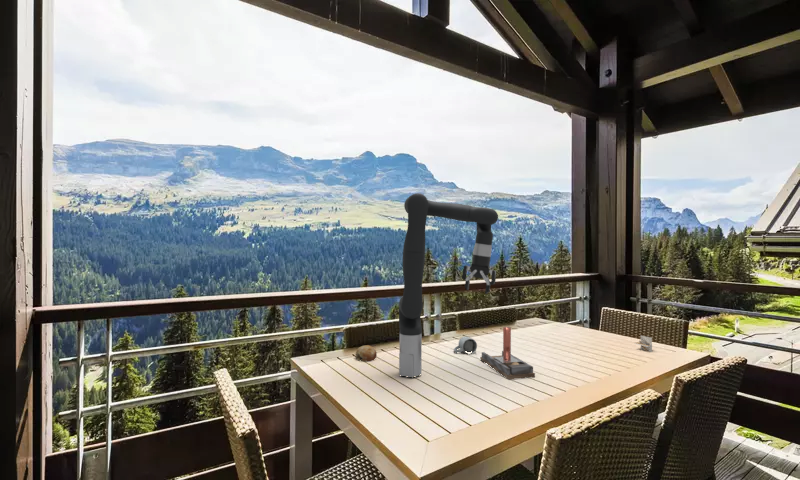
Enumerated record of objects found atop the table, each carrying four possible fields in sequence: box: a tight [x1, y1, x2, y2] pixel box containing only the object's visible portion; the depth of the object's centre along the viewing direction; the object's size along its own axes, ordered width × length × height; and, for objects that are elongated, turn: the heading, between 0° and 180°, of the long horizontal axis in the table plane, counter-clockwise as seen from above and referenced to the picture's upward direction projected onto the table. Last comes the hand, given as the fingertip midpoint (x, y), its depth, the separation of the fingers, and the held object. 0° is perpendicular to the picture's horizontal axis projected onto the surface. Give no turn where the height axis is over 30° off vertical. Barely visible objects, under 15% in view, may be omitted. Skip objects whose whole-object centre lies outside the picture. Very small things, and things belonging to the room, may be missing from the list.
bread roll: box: [355, 344, 378, 362], centre depth 185 cm, size 10×10×8 cm
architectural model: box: [634, 335, 653, 353], centre depth 199 cm, size 3×7×7 cm, turn 28°
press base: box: [480, 350, 536, 380], centre depth 171 cm, size 26×12×5 cm, turn 13°
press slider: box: [494, 326, 521, 367], centre depth 170 cm, size 8×8×16 cm
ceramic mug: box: [453, 336, 478, 354], centre depth 196 cm, size 11×8×8 cm
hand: (476, 291), depth 169 cm, fingers open, 8 cm apart
